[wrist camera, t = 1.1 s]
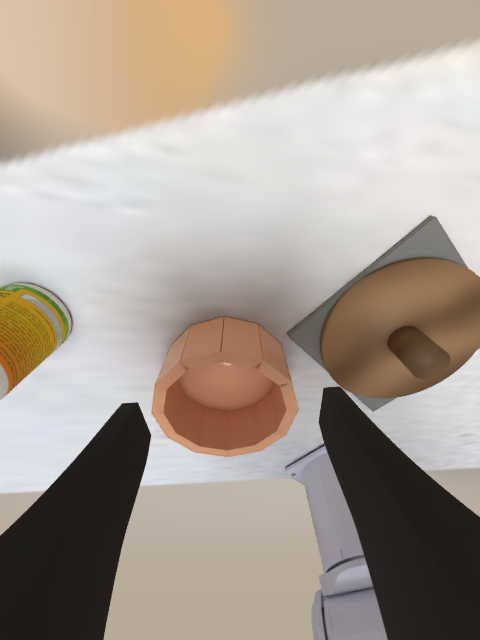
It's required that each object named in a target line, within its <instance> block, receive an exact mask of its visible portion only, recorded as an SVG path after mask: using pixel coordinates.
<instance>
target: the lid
mask: <svg viewBox="0 0 480 640" xmlns="http://www.w3.org/2000/svg"><path fill="white" fill-rule="evenodd" d="M479 346H480V277H479V276H477V275H476V274H475V273H474V272H473V271H471V270H469V269H468V268H466V267H464V266H462V265H459V264H456V263H453V262H451V261H448V260H445V259H439V258H433V257H418V258H409V259H404V260H400V261H396V262H393V263H390V264H387V265H385V266H383V267H380V268H378V269H376V270H374V271H372V272H371V273H369V274H367V275H365V276H364V277H362V278H361V279H360V280H358V281H357V282H356V283H354V284H353V285H352V286H351V287H350V288H349V289H347V290H346V291H345V292H344V293H343V295H342V296H341V297H340V298H339V299H338V300H337V302H336V303H335V304H334V306H333V307H332V309H331V310H330V312H329V314H328V316H327V318H326V320H325V323H324V325H323V328H322V333H321V339H320V349H321V355H322V359H323V362H324V364H325V366H326V368H327V370H328V372H329V374H330V375H331V377H332V378H333V379H334V380H335V381H336V382H337V384H339V385H340V386H341V387H343V388H344V389H346V390H348V391H349V392H351V393H354V394H357V395H360V396H364V397H369V398H395V397H402V396H406V395H410V394H414V393H417V392H420V391H422V390H425V389H427V388H429V387H432V386H433V385H435V384H437V383H439V382H441V381H443V380H444V379H446V378H447V377H449V376H450V375H452V374H453V373H454V372H455V371H457V370H458V369H459V368H460V367H461V366H462V365H464V364H465V363H466V362H467V361H468V360H469V358H470V357H471V356H472V355H473V354H474V353H475V351H476V350H477V349H478V347H479Z"/></svg>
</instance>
